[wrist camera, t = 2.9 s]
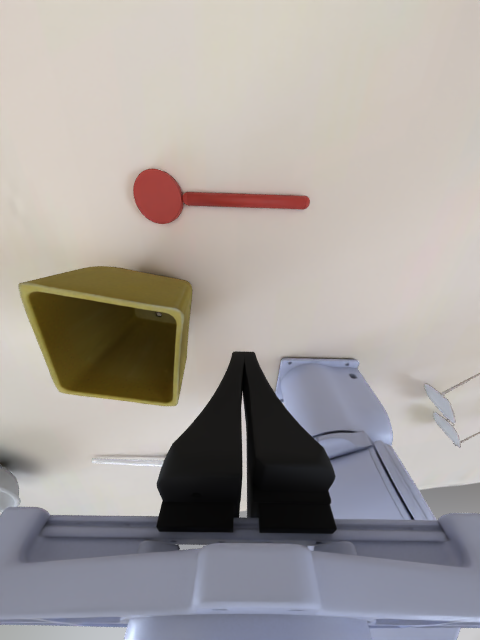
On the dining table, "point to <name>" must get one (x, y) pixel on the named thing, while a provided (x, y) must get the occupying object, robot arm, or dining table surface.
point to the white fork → (129, 462)
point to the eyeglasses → (446, 412)
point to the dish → (8, 490)
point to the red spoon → (197, 198)
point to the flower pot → (112, 332)
